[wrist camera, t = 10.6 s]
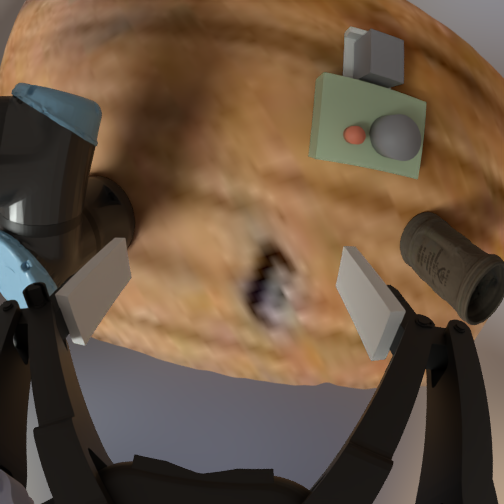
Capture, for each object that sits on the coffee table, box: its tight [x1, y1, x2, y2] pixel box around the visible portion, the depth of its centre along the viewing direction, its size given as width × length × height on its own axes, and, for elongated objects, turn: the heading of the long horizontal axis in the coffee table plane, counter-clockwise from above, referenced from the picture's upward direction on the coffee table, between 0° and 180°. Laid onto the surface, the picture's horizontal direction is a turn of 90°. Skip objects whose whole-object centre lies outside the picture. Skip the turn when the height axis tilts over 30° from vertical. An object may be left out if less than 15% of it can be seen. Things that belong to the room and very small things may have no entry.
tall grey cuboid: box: [353, 29, 404, 88], centre depth 28 cm, size 5×7×7 cm
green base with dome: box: [309, 26, 426, 179], centre depth 29 cm, size 16×22×9 cm
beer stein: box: [400, 212, 504, 325], centre depth 33 cm, size 15×11×20 cm
